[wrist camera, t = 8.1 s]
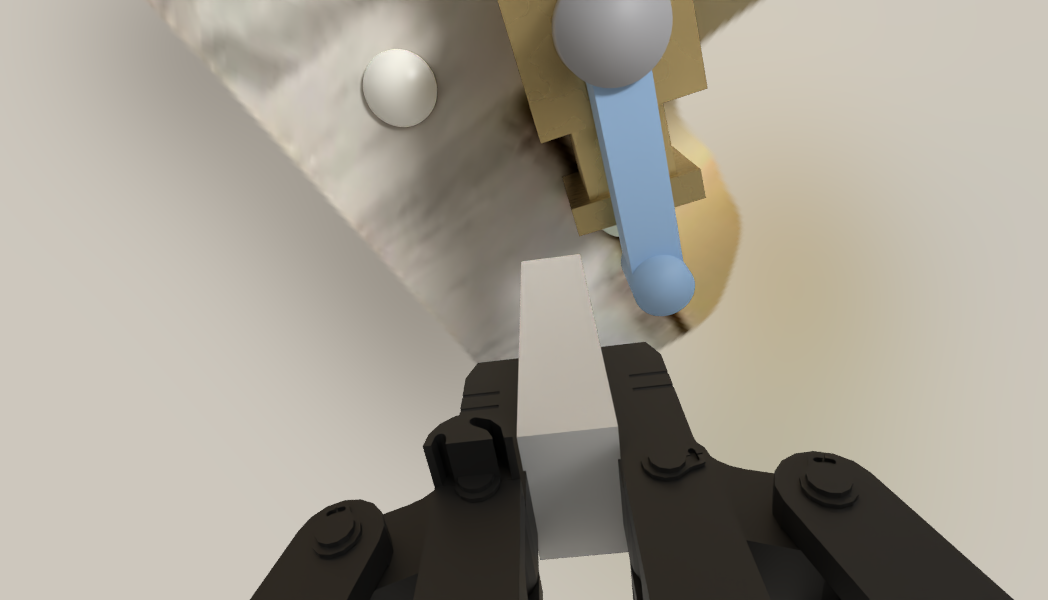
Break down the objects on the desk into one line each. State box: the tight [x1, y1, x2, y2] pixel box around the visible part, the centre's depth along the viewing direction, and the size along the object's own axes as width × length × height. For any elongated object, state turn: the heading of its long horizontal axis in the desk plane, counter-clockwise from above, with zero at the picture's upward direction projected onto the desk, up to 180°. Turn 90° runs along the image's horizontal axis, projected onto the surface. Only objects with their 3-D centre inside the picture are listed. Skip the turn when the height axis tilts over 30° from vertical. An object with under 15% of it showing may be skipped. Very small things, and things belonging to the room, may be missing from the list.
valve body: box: [498, 0, 707, 236], centre depth 28 cm, size 20×8×9 cm, turn 18°
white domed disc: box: [363, 49, 437, 127], centre depth 33 cm, size 4×4×1 cm
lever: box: [552, 0, 695, 316], centre depth 24 cm, size 15×4×4 cm, turn 16°
